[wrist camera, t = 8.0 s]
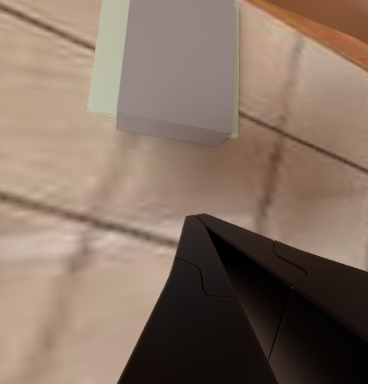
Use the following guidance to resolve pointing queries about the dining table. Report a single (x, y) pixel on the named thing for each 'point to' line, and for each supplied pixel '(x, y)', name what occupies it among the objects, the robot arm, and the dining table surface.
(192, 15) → the slate tile
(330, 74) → the dining table surface
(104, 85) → the pad
